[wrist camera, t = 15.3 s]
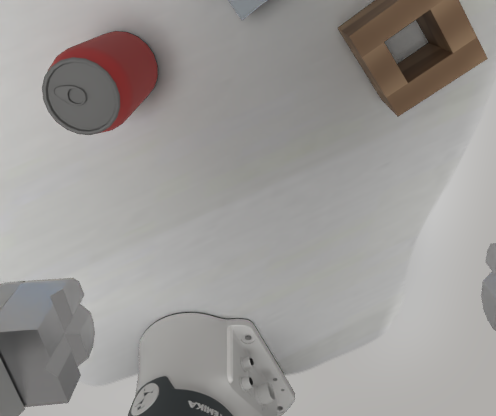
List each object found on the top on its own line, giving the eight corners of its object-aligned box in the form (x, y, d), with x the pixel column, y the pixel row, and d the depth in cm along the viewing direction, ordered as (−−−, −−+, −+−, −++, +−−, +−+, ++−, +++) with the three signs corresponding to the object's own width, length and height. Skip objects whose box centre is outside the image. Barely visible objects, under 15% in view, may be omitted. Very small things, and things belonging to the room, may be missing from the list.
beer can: (93, 22, 42) (36, 39, 31) (164, 40, 43) (132, 63, 32) (86, 92, 45) (32, 129, 34) (153, 109, 45) (120, 151, 35)
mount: (458, 47, 42) (487, 58, 37) (381, 99, 44) (397, 116, 39) (417, -32, 39) (442, -32, 34) (337, 28, 42) (349, 36, 36)
